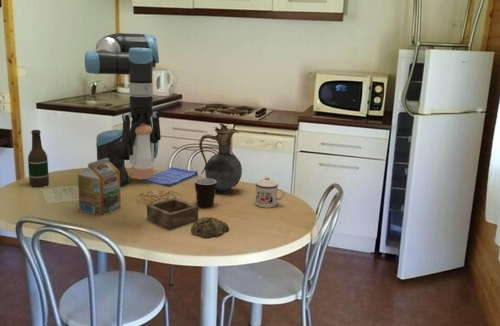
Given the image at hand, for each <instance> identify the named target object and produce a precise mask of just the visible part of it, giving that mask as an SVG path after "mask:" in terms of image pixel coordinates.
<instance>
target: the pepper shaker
mask: <svg viewBox="0 0 500 326" xmlns="http://www.w3.org/2000/svg"><path fill="white" fill-rule="evenodd" d="M151 132H152V128H151V126H150V125H148V124H144V123H142V124H140V126H139V127H137V128H136V129H135V133H136V138H135V141H134V146H136V165H133V164H131V167H130V171H131V172H130V177H131V178H132V179H136V180H140V179H148V178H151V177H153V175H154V173H153V172H154V170H153V169H154V168H153V167H154V166H153V164H152V163H153V162H152V155H151V149H150V133H151Z"/></svg>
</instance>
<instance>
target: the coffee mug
mask: <svg viewBox="0 0 500 326" xmlns="http://www.w3.org/2000/svg"><path fill="white" fill-rule="evenodd" d="M216 183H217V181H216V180H214V179H209V178H206V177H205V178H204V177H202V178H201V177H200V178H198V179H195V180H194V189H195V196H196V198H195V199H196V200H195V201H196V206H198V208H199V209H200V208H201V209H210V208H213V207H214V203H215V196H216V192H215V190H216Z"/></svg>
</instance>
